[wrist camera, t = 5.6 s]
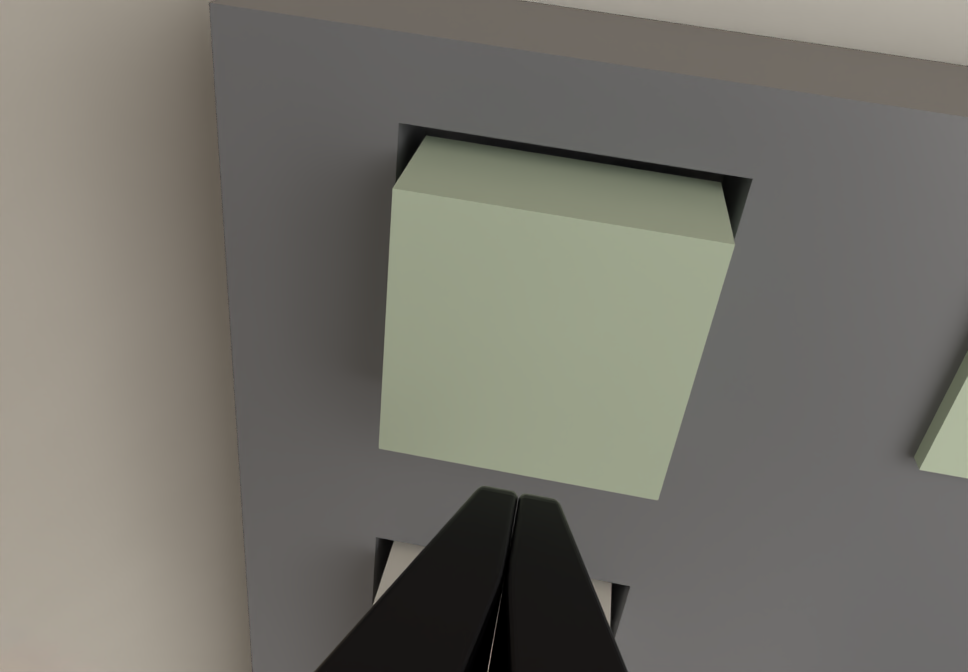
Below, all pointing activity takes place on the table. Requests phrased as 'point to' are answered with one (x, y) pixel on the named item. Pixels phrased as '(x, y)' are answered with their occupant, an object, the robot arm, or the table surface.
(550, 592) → the robot arm
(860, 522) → the keypad
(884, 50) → the table surface
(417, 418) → the sage key
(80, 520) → the table surface
